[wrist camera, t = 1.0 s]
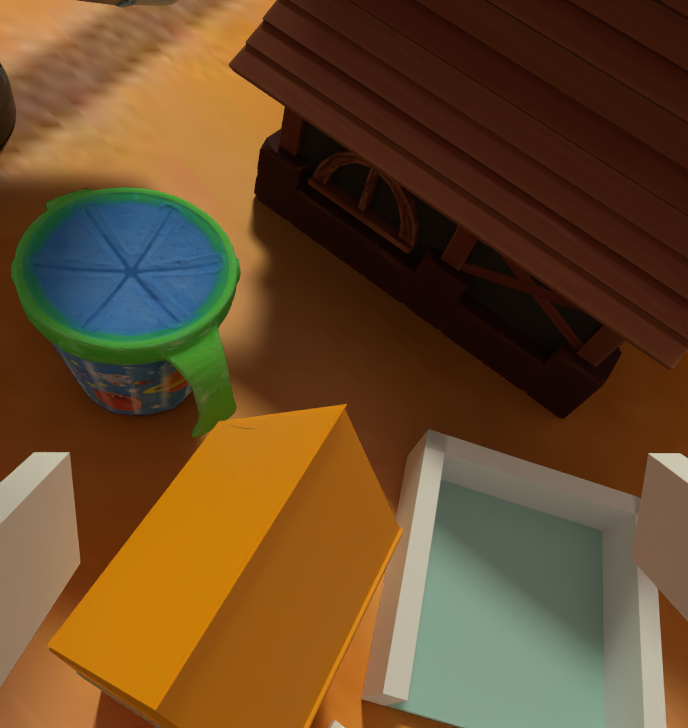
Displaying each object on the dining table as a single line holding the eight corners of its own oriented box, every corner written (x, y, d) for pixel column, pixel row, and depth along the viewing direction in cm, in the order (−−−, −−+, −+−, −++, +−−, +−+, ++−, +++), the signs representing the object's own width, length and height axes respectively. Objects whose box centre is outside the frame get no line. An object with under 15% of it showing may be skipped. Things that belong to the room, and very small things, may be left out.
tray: (407, 455, 40) (428, 428, 36) (613, 521, 40) (652, 501, 37) (361, 699, 32) (382, 693, 28) (619, 774, 32) (669, 777, 29)
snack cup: (5, 305, 39) (-43, 181, 30) (161, 253, 44) (157, 135, 35) (113, 513, 34) (92, 434, 25) (277, 428, 38) (304, 339, 30)
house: (681, 263, 56) (1052, -95, 32) (562, 486, 41) (1099, 119, 17) (377, 66, 62) (503, -363, 38) (174, 197, 47) (170, -384, 23)
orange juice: (325, 608, 34) (468, 471, 17) (235, 781, 29) (314, 826, 12) (204, 533, 34) (229, 331, 18) (96, 689, 29) (-9, 612, 13)
